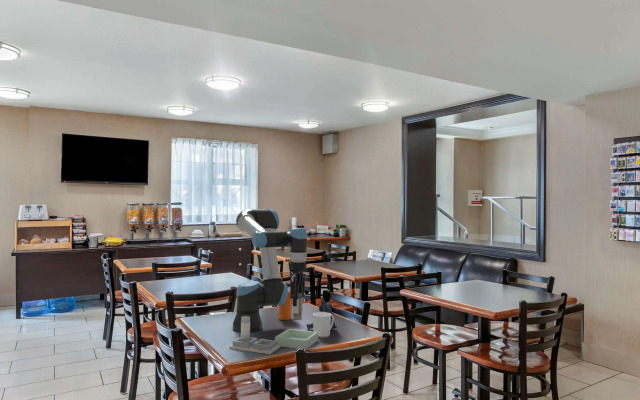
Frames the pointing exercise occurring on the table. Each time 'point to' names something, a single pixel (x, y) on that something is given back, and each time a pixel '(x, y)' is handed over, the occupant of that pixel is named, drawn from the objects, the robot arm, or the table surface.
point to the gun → (324, 308)
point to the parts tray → (296, 338)
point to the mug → (322, 323)
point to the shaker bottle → (286, 307)
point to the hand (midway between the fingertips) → (297, 311)
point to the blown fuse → (299, 315)
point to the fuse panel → (256, 345)
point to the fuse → (245, 328)
